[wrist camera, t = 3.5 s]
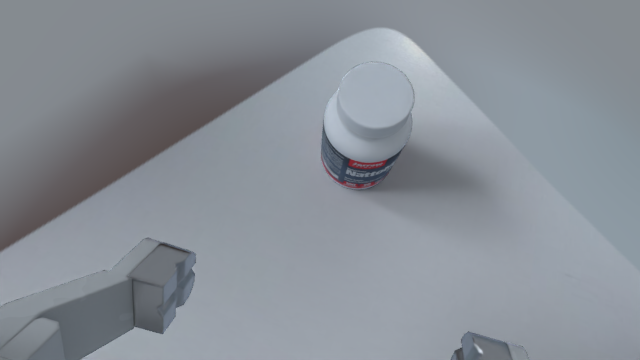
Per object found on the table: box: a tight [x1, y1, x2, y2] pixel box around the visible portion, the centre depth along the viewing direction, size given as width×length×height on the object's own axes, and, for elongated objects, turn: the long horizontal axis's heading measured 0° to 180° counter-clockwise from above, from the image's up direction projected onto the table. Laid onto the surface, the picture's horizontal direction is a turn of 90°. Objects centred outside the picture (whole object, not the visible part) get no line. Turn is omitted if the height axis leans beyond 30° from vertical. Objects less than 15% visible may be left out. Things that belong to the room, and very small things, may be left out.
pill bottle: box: [321, 62, 414, 190], centre depth 23 cm, size 5×5×9 cm
